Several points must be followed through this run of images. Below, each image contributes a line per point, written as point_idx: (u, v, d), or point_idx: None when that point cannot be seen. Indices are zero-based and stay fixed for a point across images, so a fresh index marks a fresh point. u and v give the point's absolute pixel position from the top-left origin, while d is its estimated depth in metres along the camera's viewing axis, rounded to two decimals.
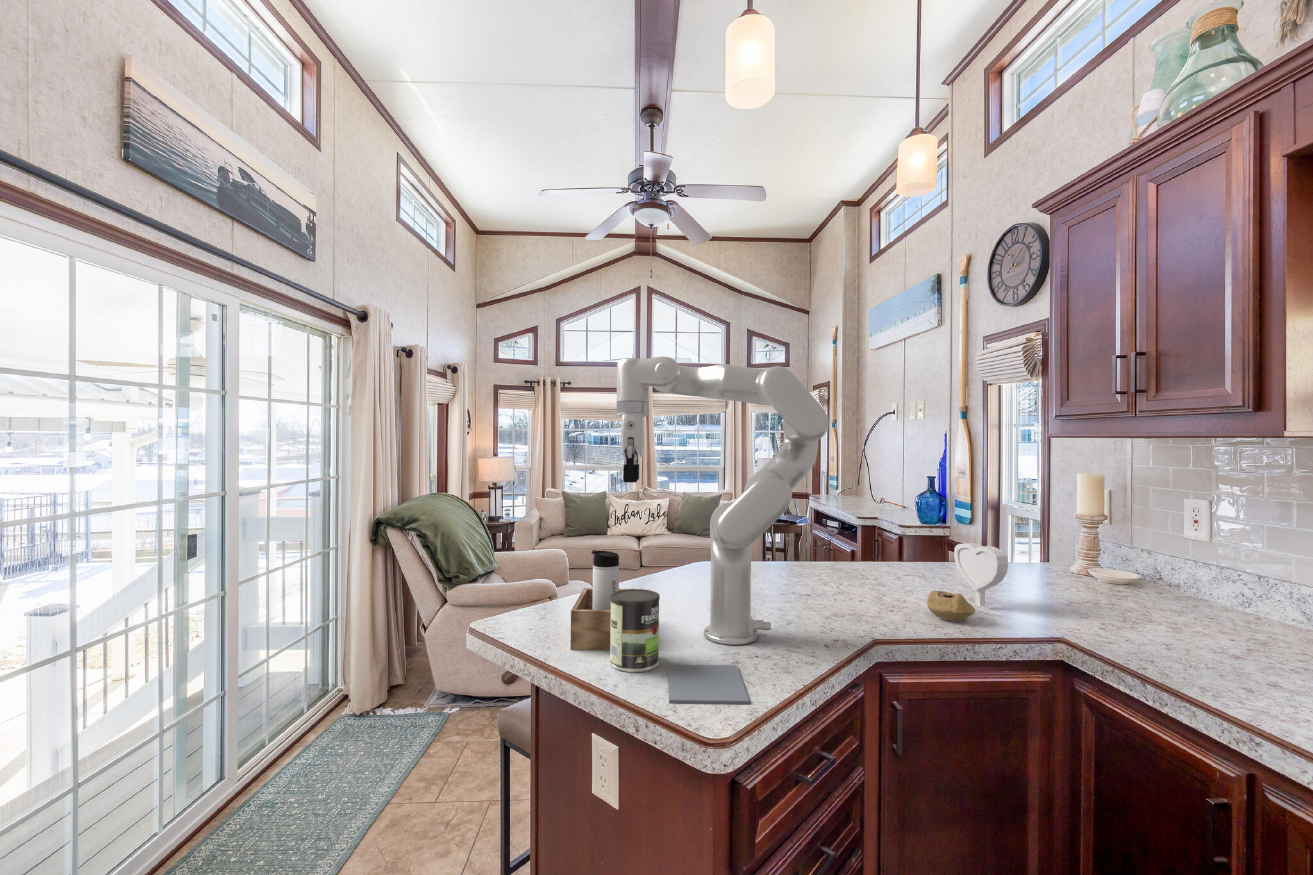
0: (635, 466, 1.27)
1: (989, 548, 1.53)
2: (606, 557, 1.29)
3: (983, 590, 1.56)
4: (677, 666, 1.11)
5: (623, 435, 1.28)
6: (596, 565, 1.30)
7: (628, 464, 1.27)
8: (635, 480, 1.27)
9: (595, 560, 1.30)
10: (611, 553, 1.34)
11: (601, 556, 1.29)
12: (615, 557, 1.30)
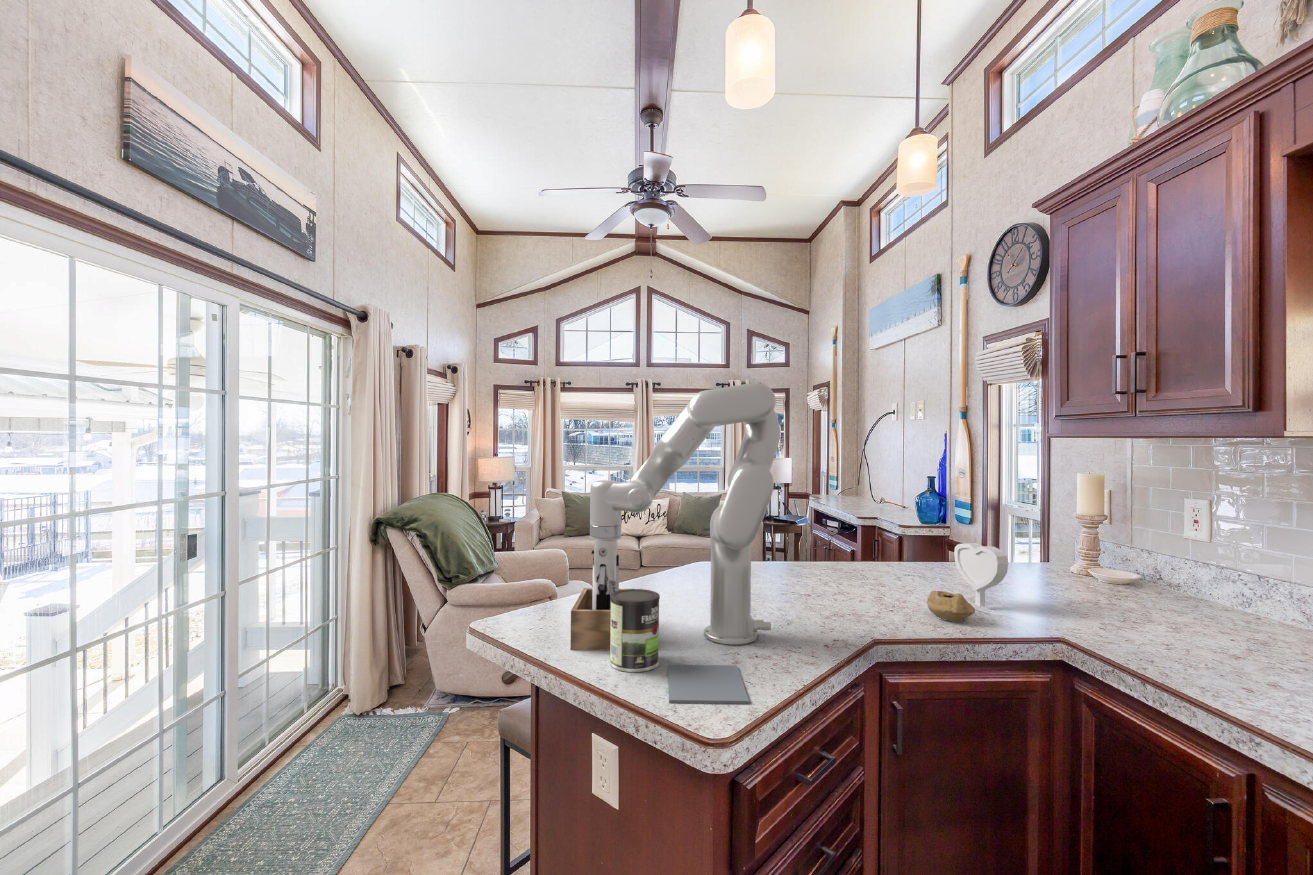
0: (608, 596, 1.28)
1: (989, 548, 1.53)
2: None
3: (983, 590, 1.56)
4: (677, 666, 1.11)
5: (595, 562, 1.27)
6: None
7: (601, 595, 1.27)
8: None
9: None
10: None
11: None
12: None
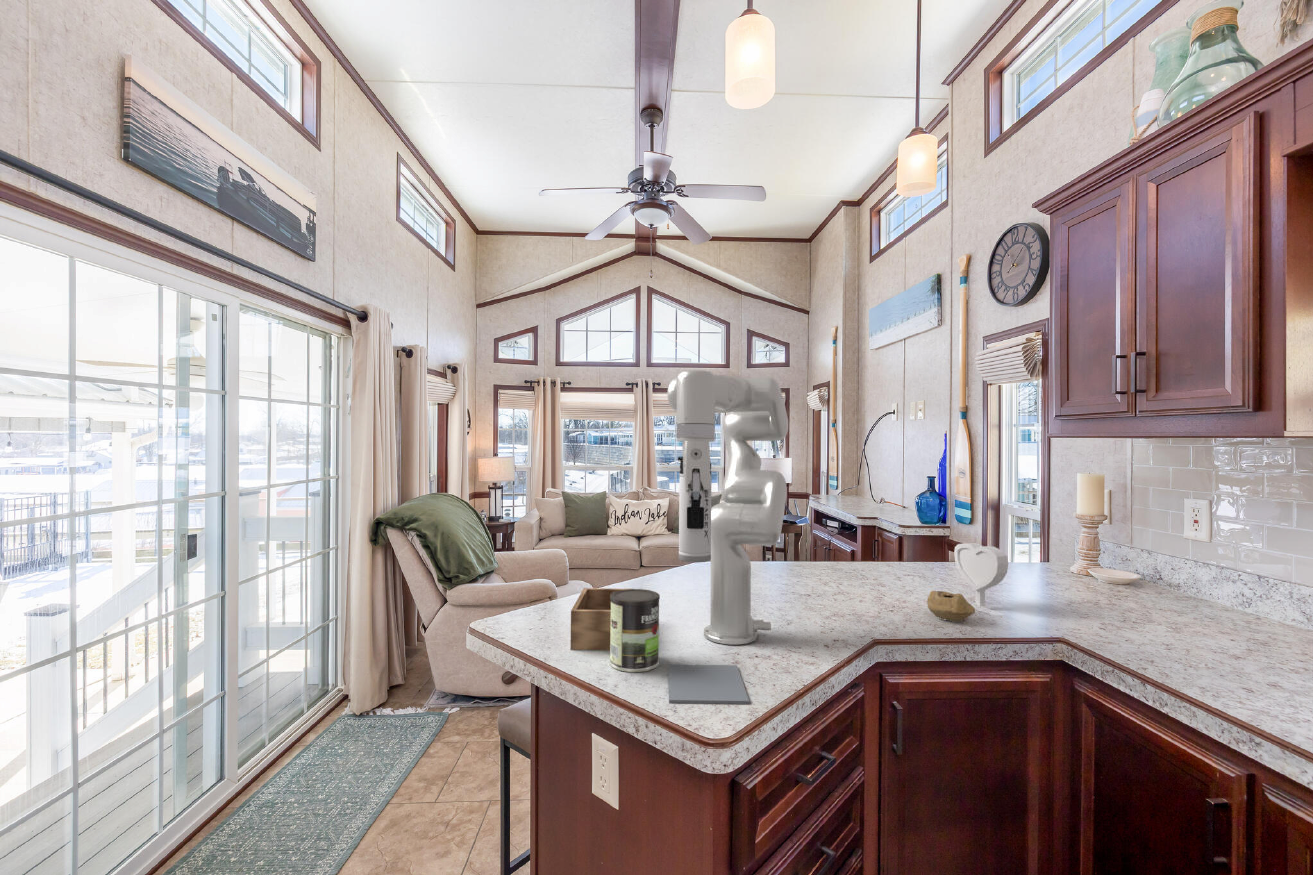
0: (701, 509, 1.04)
1: (989, 548, 1.53)
2: None
3: (983, 590, 1.56)
4: (677, 666, 1.11)
5: (687, 466, 1.03)
6: None
7: (693, 507, 1.03)
8: (701, 526, 1.04)
9: None
10: None
11: None
12: None
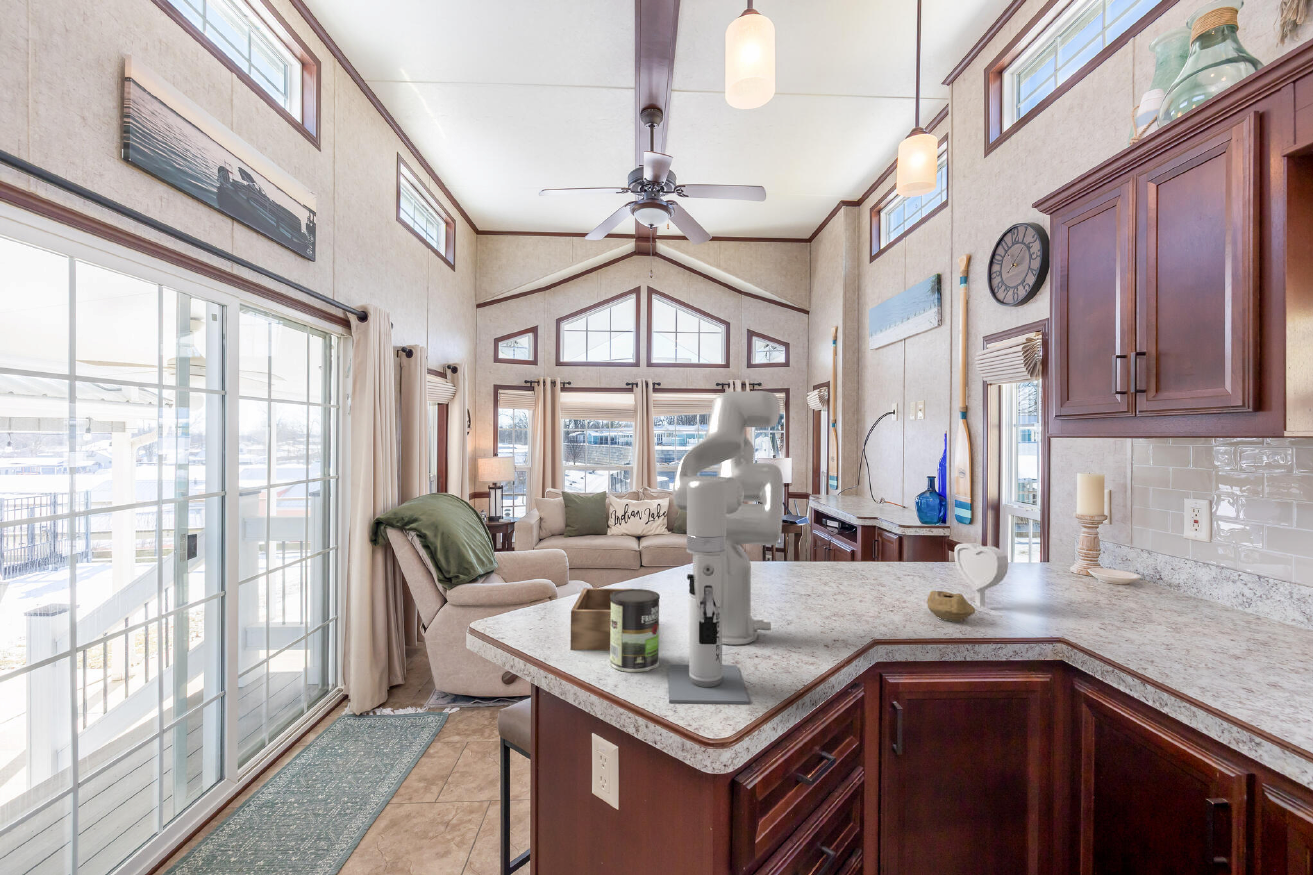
0: (714, 623, 1.00)
1: (989, 548, 1.53)
2: None
3: (983, 590, 1.56)
4: (677, 666, 1.11)
5: (698, 583, 1.00)
6: None
7: (706, 622, 0.99)
8: (714, 641, 1.00)
9: (693, 587, 1.03)
10: None
11: None
12: None
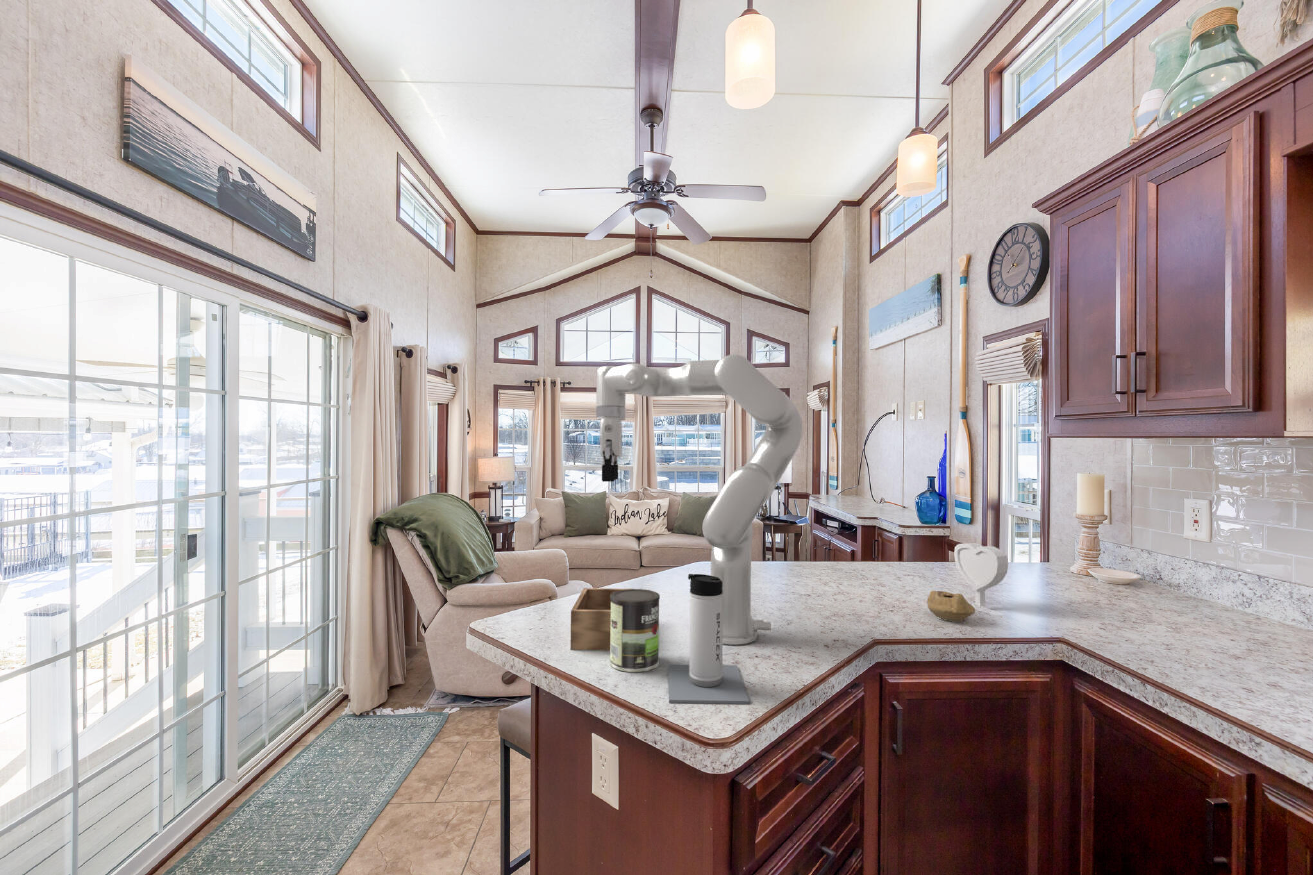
0: (613, 466, 1.37)
1: (989, 548, 1.53)
2: (709, 583, 1.02)
3: (983, 590, 1.56)
4: (677, 666, 1.11)
5: (602, 438, 1.38)
6: (696, 593, 1.03)
7: (606, 464, 1.37)
8: (613, 479, 1.37)
9: (694, 587, 1.03)
10: (711, 577, 1.07)
11: (703, 582, 1.02)
12: (719, 583, 1.03)
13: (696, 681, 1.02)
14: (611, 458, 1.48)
